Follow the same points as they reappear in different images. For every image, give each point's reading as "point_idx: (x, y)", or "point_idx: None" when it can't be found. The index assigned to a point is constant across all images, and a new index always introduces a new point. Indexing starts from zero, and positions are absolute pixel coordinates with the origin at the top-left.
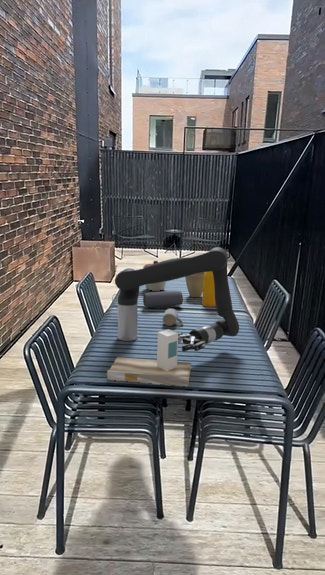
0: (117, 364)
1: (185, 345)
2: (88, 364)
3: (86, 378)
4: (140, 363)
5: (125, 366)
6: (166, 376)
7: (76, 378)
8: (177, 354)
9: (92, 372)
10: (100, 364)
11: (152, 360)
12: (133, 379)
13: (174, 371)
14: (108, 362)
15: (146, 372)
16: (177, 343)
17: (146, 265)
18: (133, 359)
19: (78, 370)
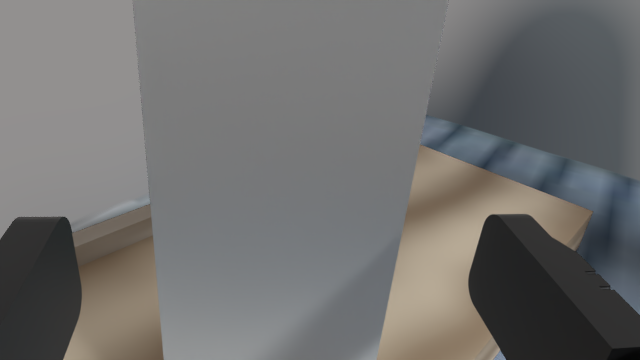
0: (473, 177)
1: (8, 255)
2: (573, 172)
3: (426, 134)
4: (441, 251)
5: (429, 188)
6: (88, 228)
7: (440, 123)
8: (160, 310)
9: (476, 156)
10: (566, 196)
11: (471, 339)
12: None
13: (118, 358)
14: (591, 223)
15: None
16: (145, 119)
17: None
18: None
19: (512, 141)
